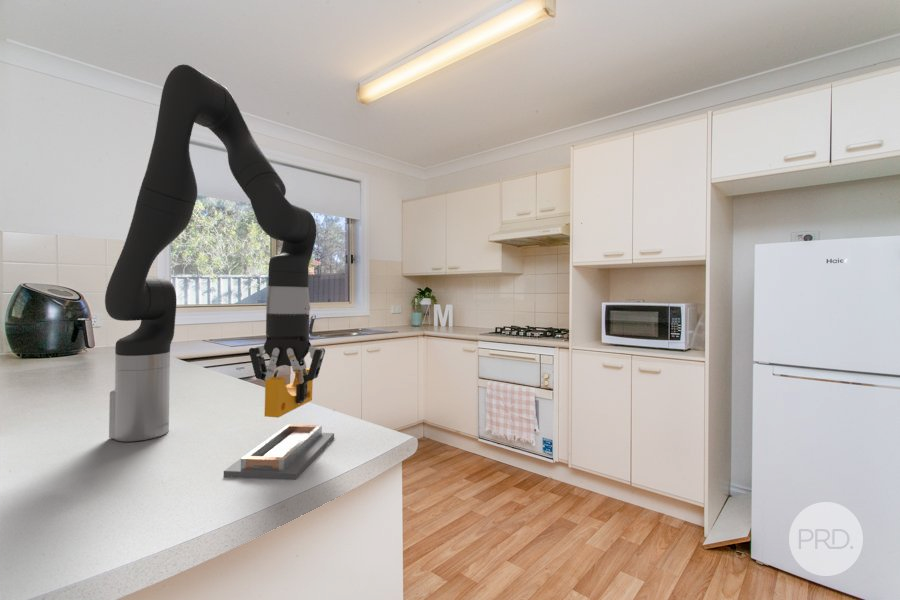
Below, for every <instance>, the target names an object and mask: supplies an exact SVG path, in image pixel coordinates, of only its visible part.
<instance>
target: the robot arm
mask: <svg viewBox="0 0 900 600" xmlns="http://www.w3.org/2000/svg"><path fill="white" fill-rule="evenodd" d="M160 97H161V98H160V102H159V109H158V115H157V122H156V127H155V135H154V138H153V143H152V146H151V150H150V151H151V152H150V155H149V158H148V162H147V166H146V171H145V173H144V176H143V180H142V182H141V185H140V188H139V192H138V195H137V199H136V203H135V207H134V211H133V216H132V219H131V223H130V226H129V228H128V233H127V235H126V239H125V242H124V245H123V247H122V250H121V252H120V254H119V257H118V259H117V262H116V264H115V266H114V269H113V271H112V274H111V275H110V279H109V281H108V283H107V286H106V290H105V295H104V305H105V309H106V310H105V311H106V312H107V314H108V316H109V317H110V318H112V319H113V320H116V321H122V322H124V321H125V322H130V321H135V322H136V321H140V323H139V327H138V328H137V329H136V330H134V331H133V332H131V333H130V334H128V335H125V336H123V337H121V338H119V339H118V340H117V341H116V343H115V348H114V350H115V355H114V356H115V359H114V389H113V390H111V391H110V392H109V407H108V409H109V412H108V414H109V415H108V416H109V418H108V420H109V421H108V423H109V424H108V438H109V439H113V440H115V441H118V442H140V441H145V440H151V439H155V438H159V437H162V436H163V435H166V434H167V433H168V432H169V431H170V382H171V381H170V379H171V378H170V377H171V376H170V374H171V345H172V341H173V340H174V336H175V329H176V327H175V326H176V316H177V315H176V313H177V293H176V289H175V285H174V284H173V283H172V282H171V280H169V279H167V278H165V277H162V276H161V277H160V276H151V275H150V276H149V272H150V269H151V267H152V265H153V263H154V261H155V260H156V259H157V257H158V255H159V254H160V253H161V252H163V251H164V250H165V248H167V247H168V246H169V245H170V244H172V242H173V241H174V240H176V239H177V238H178V237H179V236H180V235H181V234H182V233H183V231H184V230H186V229H187V227H188V225H189V223H190V221H191V218H192V216H193V212H194V209H195V205H196V202H197V199H198V183H197V180H196V175H195V172H194V168H193V165H192V164H193V163H192V161H191V155H190V144H191V143H190V142H191V137H192V132H193V129H194V125H195V124H196V125H199V126H201V127H204V128H207V129H208V130H209V131H211V132H212V133H214V135H215V136H216V137H217V138H218V139H219V140H220V142H221V143H222V144H223V145H224V147H225V149H226V151H227V162H228V167H229V169H230V172H231V174H232V176H233V178H234V179H235V181H236V183H237V184H238V185H239V187H240V188H241V189H242V191H243V192H244V194H245V195H246V197H247V198H248V199H249V201H250V204H251V208H252V210H253V213H254V216H255V218H256V221H257V224H258V225H259V226H260V228H261V229H262V231H263V232H264V233H265V234H266V235H268V236H269V238H272V239H274V240H276V241H280V242H282V246H281V250H280V254H276V255H273V256H272V257H270V259H269V263H268V270H267V271H268V273H267V274H268V276H267V277H268V279H267V282H268V283H267V284H268V285H267V286H268V287H267V294H266V301H265V302H266V306H265V307H266V309H265V310H266V311H265V312H266V313H265V314H266V315H265V316H266V317H265V320H266V321H265V336H266V338H265V339H266V340H265V342H264V344H263V345H261V346H254V347H250V348H249V349H248V353H249V357H250V360H251V365H252V369H253V372H254V376H255V379H256V380H262V381H264V382H265V380H266V379H268V378H271V377H278V376H279V373H280V370H281V369H282V367H283V366H287V367H291V368H292V371H293V372H294V374H296V378H297V381H298V384H296V403H297V404H301V403H302V402H304V400H305V399H306V398H307V383H308V381H311V380H313V381H314V380H315V379H317V378H319V374H320V370H321V367H322V364H323V360H324V357H325V354H326V349H325V348H324V347H320V348H319V347H316V346H312V344H311V342H310V311H311V305H310V302H311V301H310V293H309V275H310V274H309V271H310V270H309V267H310V266H309V265H310V262H311V259H312V255H313V252H314V248H315V244H316V239H317V230H318V229H317V224H316V220H315V218H314V216H313V214H312V212H310V211H309V210H307V209H305V208H303V207H300V206H297V205H296V204H293V203H290V202H289V200H288V199H287V198H286V197H285V196H286V193H287V191H286V190H287V189H286V185H285V182H284V181H283V180H282V177H280V176H279V174H278V173H277V171H276V169H274V167H273V165H272V164H271V162H270V161H269V160H268V159H267V157H266V156H265V154H264V153H263V152H262V150H261V148H260V147H259V145H258V144H257V141H255V138H254V136H253V135H252V133H251V131H250V129H249V127H248V125H247V123H246V121H245V120H244V117H243V114H242V113H241V111H240V109H239V106H238V104H237V102H236V101H235V99H234V97H233V95H232V93H231V92H230V90H229V89H228V88H227V87H226V86H224V85H223V84H221V83H220V82H219V81H217V80H215V79H214V78H212V77H210V76H209V75H207V74H205V73H203V72H202V71H200V70H199V69H197V68H195V67H193V66H191V65H189V64H179V65H177V66H175V67H174V68H173V69H171V71H169V74H168V75H167V77H166V78H165V82H164V84H163V87H162V91H161V96H160ZM266 354H267V355H268V358H270V360H269V362H268V365H267V364H266V361H265V356H266ZM308 354H309V355H310V356H309V357H310V359H311V362H310V365H309V368H310V369H309V372H308V373H307V370H306V368H307V364H306V361H305V358H306V356H307V355H308Z"/></svg>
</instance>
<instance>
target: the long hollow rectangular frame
mask: <svg viewBox="0 0 900 600" xmlns="http://www.w3.org/2000/svg"><path fill="white" fill-rule="evenodd" d="M322 428H323V425H321V424H319V425H318V424H316V425H315V424H292V423H291V424H286V425H285V426H284V427H283V428H281V429H279V430H278V431H276V432H275V433H273V436H272V435H271V436H270V437H269V439H268V438H267V439H265V440H264V441H263V442H262V444H261V443H260V444H258V445H257V446H258V447H257V446H255V447H254V448H253V449H251V452H250V451H249V452H248V453H246V454H247V455H246V454H245V455H244V456H242V457H240V459H241V469H242V470H270V471H284V470H285V469H286V468H287V467H288V466H289V465H290V464H291V463H292V462H293V461H294V460H295V459H296V458H297V457H298V456H300V455H301V454H302V453H303V452H304V451H305V450H306V449H307V448H308V447H309V446H310V445H311V444H312V443H313V442H314V441H315V440H316V439H317V438H318V437H319V436H320V435H321V434H322V433H323V429H322ZM288 435H289V436H288ZM287 436H288V437H287ZM283 439H284V440H283ZM282 440H283V441H282ZM278 443H279V444H278ZM277 444H278V445H277ZM273 447H274V448H273ZM272 448H273V449H272ZM268 451H269V452H268ZM267 452H268V453H267ZM264 454H265V455H264ZM263 455H264V456H263Z"/></svg>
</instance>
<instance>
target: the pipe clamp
mask: <svg viewBox="0 0 900 600" xmlns="http://www.w3.org/2000/svg"><path fill="white" fill-rule="evenodd" d="M309 369H310V367H306V370H307V373H308V372H309ZM294 374H295V373H294ZM286 379H287V378H286V377H278V376H277V377H271V378H268V379H266V380H265V381H264V382H265V387H264V389H265V390H264V417H268V418H280V417H282V416H284V415H286V414H289V413H290V412H292V411H294V410H296V409H298V408H300V407H301V406H304V405H306V404H308V403H309V402H310V403H311V401H313V381H314V379H313V380H311V381H308V383H307V398H306V399H305V400H304V402H302V403H301V404H297V403H296V384H298V381H297V378H296V374H295V375H294V380H293V382H291V383H288V384H286V383H287V382H286V381H287V380H286Z"/></svg>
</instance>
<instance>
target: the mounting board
mask: <svg viewBox="0 0 900 600" xmlns="http://www.w3.org/2000/svg"><path fill="white" fill-rule="evenodd" d="M273 435H274V434H273ZM273 435H271V436H273ZM288 436H289V435H288ZM288 436H287V437H288ZM269 438H270V437H269ZM269 438H267V439H269ZM334 439H335V432H322V434H321V435H320V436H319V437H318V438H317V439H316V440H315V441H314V442H313V443H312V444H311V445H310V446H309V447H308V448H307V449H306V450H305V451H304V452H303V453H302V454H301V455H300V456H298V457H297V458H296V459H295V460H294V461H293V462H292V463H291V464H290V465H289V466H288V467H287V468H286V469H285V470H284V471H270V470H242V469H241V458H239V459H238V460H237V461H235V462H234V463H232V464H231V465H230V466H228V467H227V468H226V469H223V478H239V479H240V478H241V479H243V478H244V479H265V480H266V479H267V480H269V479H270V480H293V481H294V480H295V481H296V480H297V479H298V478H299V477H300V476H301V474H303V472H305V471H306V469H308V467H309V466H310V465H311V464H312V463H313V461H314V460H315V459H316V458H317V457H318V456H320V454H321V453H322V452H323V451H324V449H326V447H327V446H328V445H329V444H330V443H331V442H332V441H333V440H334ZM283 440H284V439H283ZM283 440H282V441H283ZM262 443H263V442H262ZM262 443H260V444H262ZM278 444H279V443H278ZM278 444H277V445H278ZM258 446H259V445H257V446H256V447H258ZM273 448H274V447H273ZM273 448H272V449H273ZM251 451H252V450H251ZM251 451H249V452H251ZM268 452H269V451H268ZM268 452H267V453H268ZM247 454H248V453H246V454H245V455H247ZM264 455H265V454H264ZM264 455H263V456H264Z"/></svg>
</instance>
